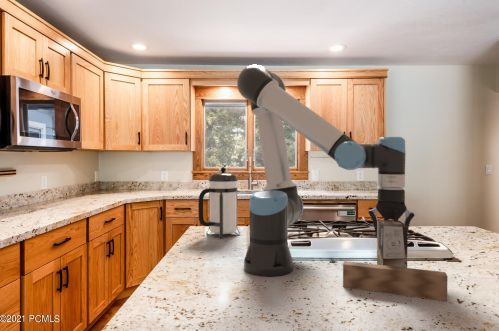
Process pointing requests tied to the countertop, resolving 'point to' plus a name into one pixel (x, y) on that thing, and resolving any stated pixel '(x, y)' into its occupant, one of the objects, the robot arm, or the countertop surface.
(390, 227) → the coffee box
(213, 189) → the coffee press
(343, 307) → the countertop surface
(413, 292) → the board
